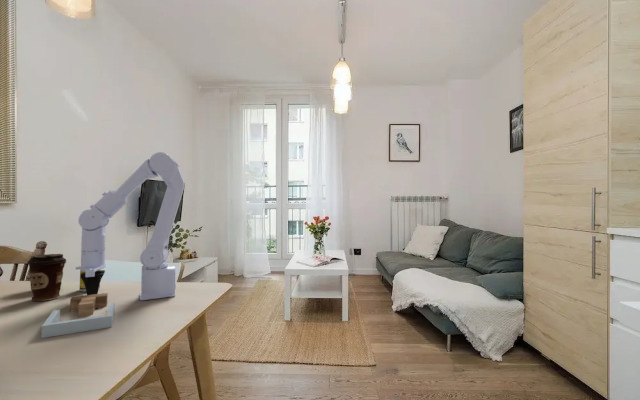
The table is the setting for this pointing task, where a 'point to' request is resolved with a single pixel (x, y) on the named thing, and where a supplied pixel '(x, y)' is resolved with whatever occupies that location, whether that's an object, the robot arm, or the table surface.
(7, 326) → the table surface
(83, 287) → the supplement bottle
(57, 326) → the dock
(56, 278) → the coffee cup
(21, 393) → the table surface
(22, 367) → the table surface
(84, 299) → the t block
